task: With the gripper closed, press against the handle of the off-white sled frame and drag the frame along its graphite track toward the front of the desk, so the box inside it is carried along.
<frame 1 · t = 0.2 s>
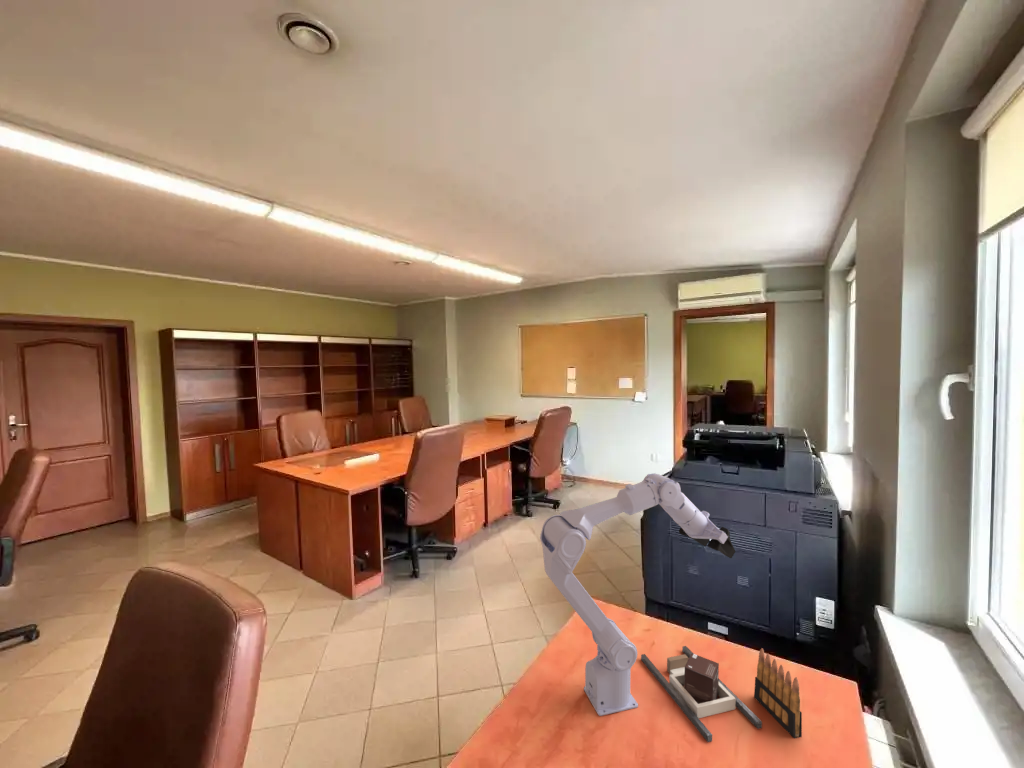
hand: (719, 548, 101), 31 cm above the table, tool tilted 45°, fingers open, 7 cm apart
ammunition clip: (776, 717, 90), on the table
track: (695, 691, 97), on the table
box: (701, 697, 95), resting in sled
sled: (695, 682, 97), point 2 cm above the table, slide at 0.0 cm, touching box
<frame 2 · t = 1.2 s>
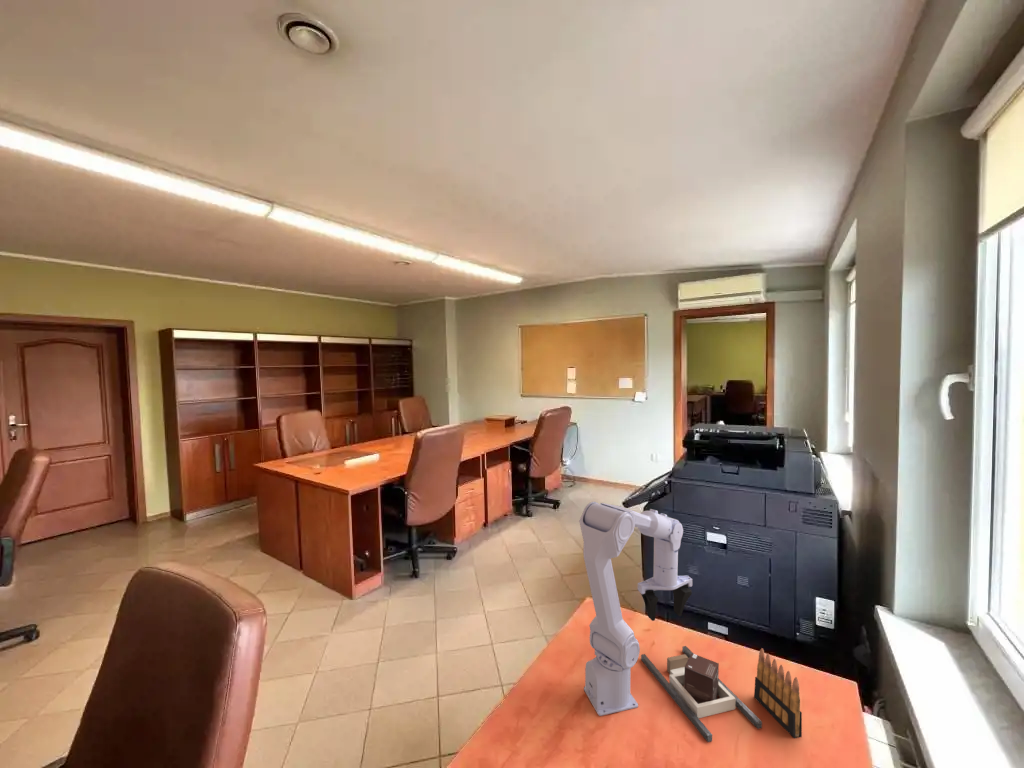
hand: (664, 616, 108), 10 cm above the table, tool pointing down, fingers open, 7 cm apart
nothing on the table moved.
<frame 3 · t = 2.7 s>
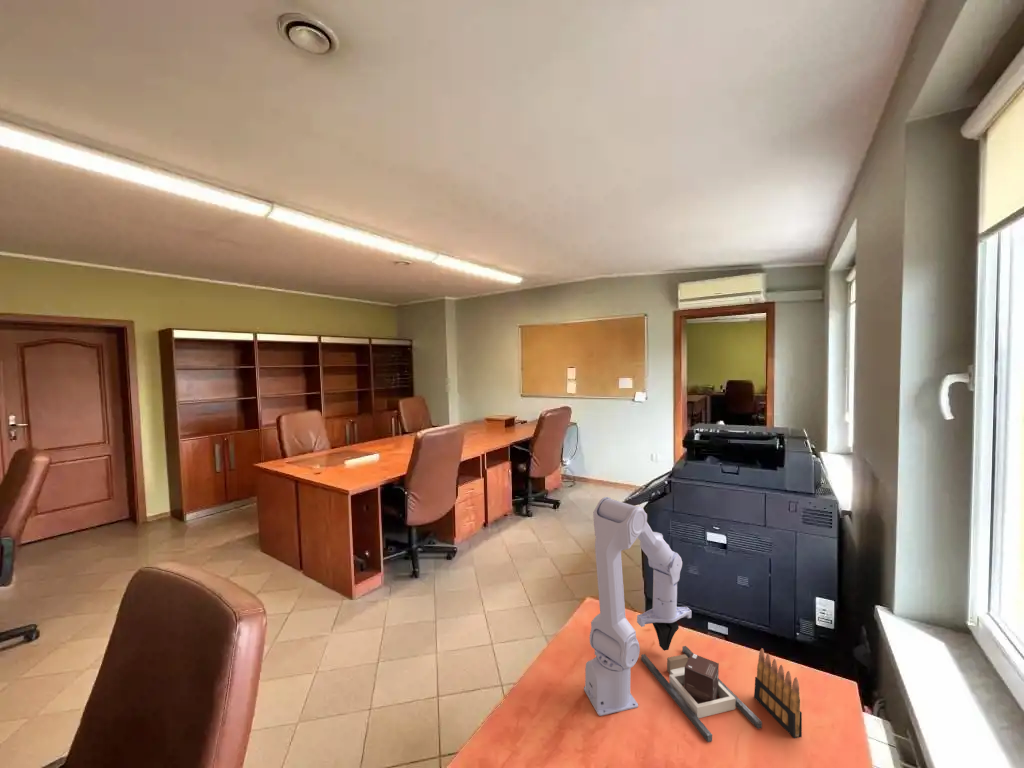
hand: (664, 647, 108), 2 cm above the table, tool pointing down, fingers closed
nothing on the table moved.
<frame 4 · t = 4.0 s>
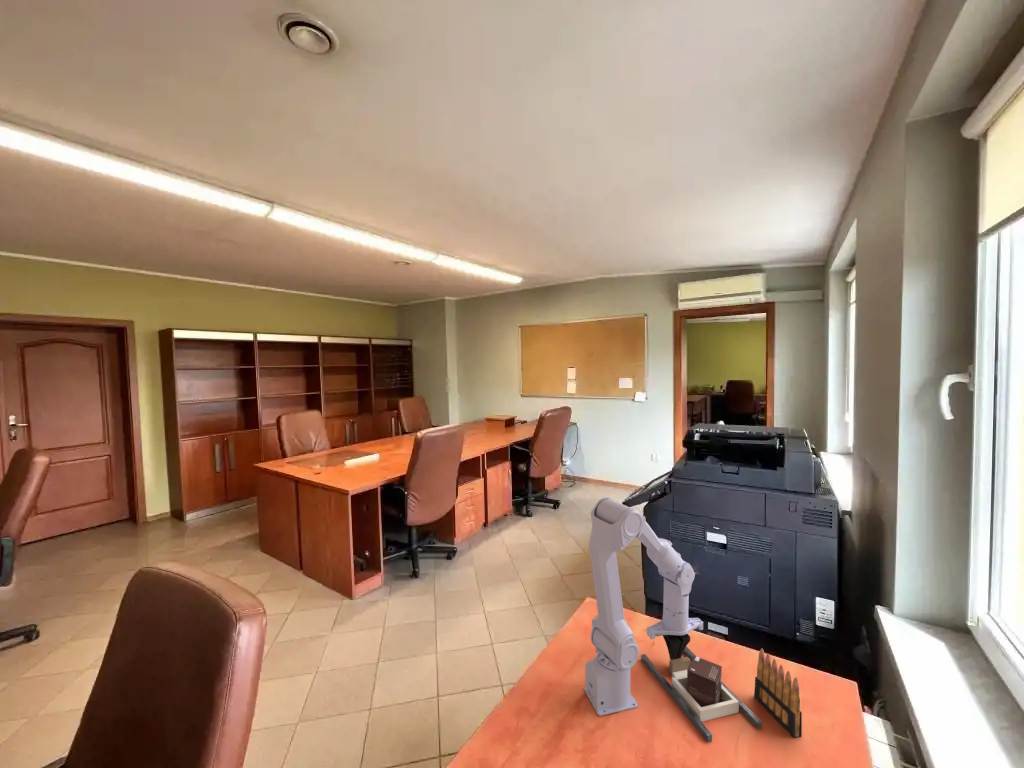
hand: (674, 660, 104), 2 cm above the table, tool pointing down, fingers closed, pressing on sled
sled: (697, 685, 96), point 2 cm above the table, slide at 0.9 cm, touching box, gripper
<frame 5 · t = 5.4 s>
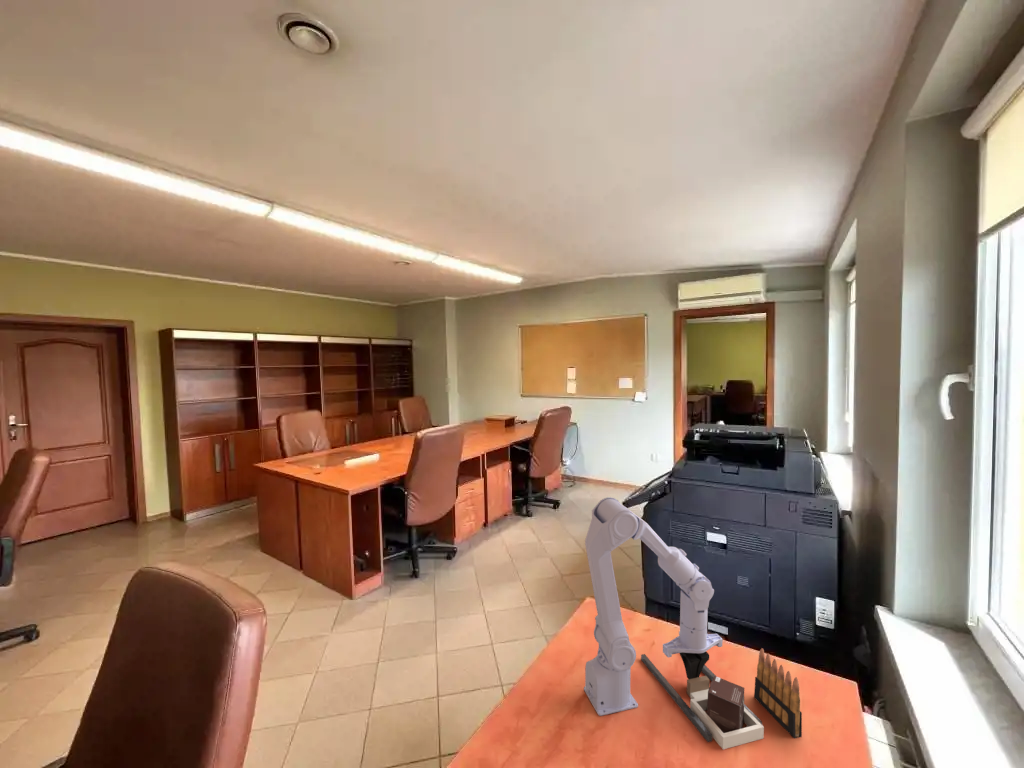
hand: (692, 679, 98), 2 cm above the table, tool pointing down, fingers closed, pressing on sled
box: (725, 724, 88), resting in sled
sled: (718, 708, 90), point 2 cm above the table, slide at 7.3 cm, touching box, gripper
everything else where it was.
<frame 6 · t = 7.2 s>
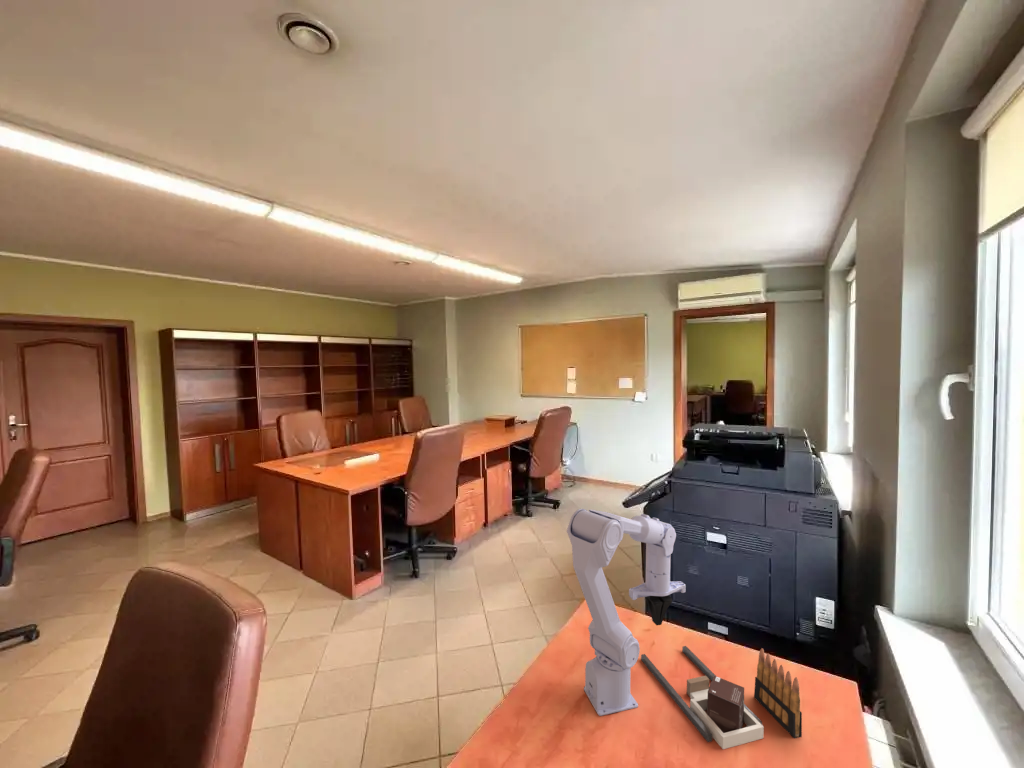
hand: (656, 622, 105), 10 cm above the table, tool pointing down, fingers closed
sled: (718, 708, 90), point 2 cm above the table, slide at 7.3 cm, touching box
everything else where it was.
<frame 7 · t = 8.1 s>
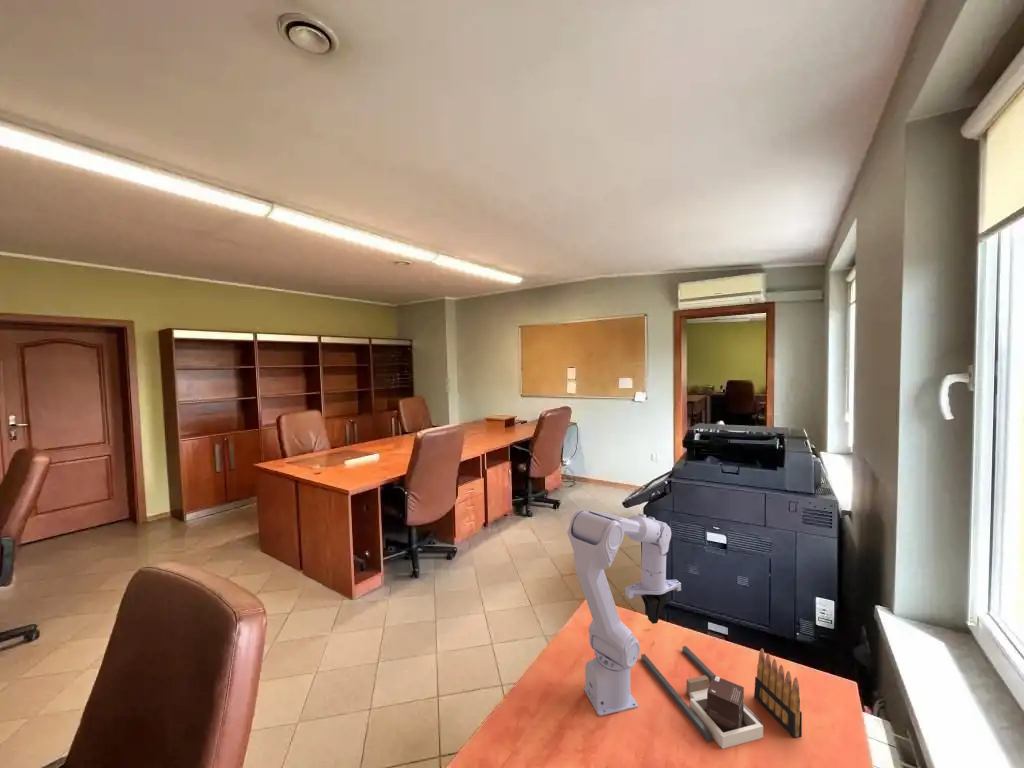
hand: (652, 621, 106), 10 cm above the table, tool pointing down, fingers closed
nothing on the table moved.
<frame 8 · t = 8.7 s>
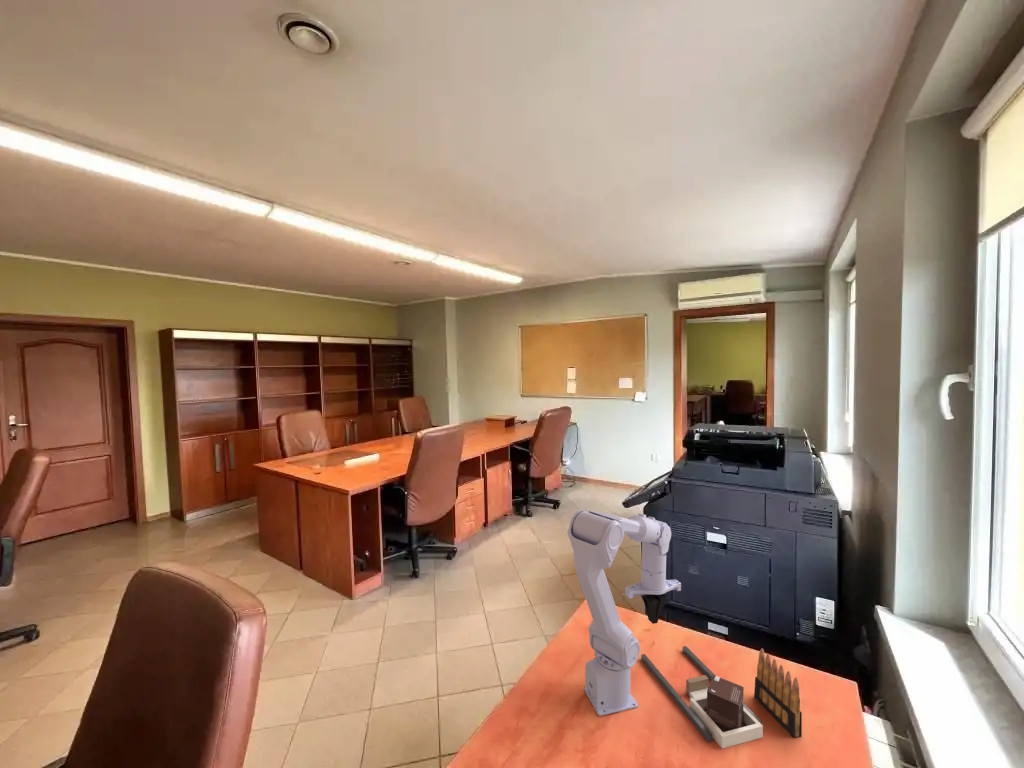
hand: (652, 621, 106), 10 cm above the table, tool pointing down, fingers closed
nothing on the table moved.
at the end: box inside the target area (0.3 cm from its centre), resting in sled; box tilted 0°; sled slide at 7.1 cm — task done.
